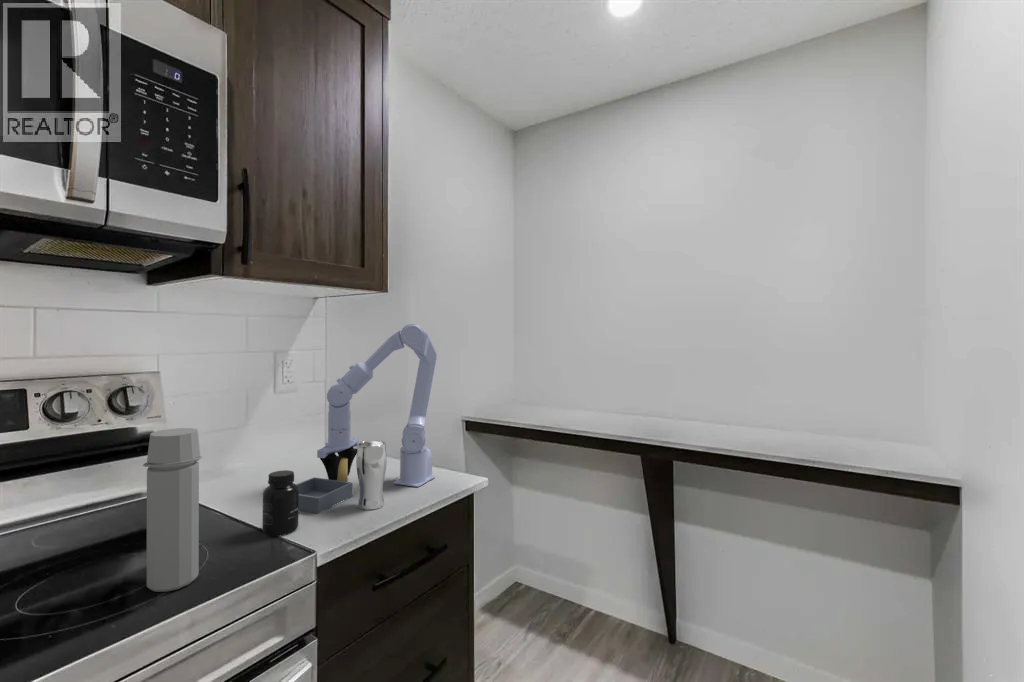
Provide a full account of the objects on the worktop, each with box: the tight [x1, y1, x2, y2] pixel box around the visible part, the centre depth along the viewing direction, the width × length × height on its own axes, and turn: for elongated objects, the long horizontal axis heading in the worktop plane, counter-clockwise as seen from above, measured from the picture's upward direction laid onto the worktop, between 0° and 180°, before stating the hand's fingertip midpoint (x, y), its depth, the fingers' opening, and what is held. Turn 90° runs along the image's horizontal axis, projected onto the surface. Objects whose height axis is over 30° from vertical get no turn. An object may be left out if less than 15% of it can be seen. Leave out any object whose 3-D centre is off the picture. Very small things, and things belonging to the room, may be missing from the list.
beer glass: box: [355, 439, 387, 511], centre depth 114 cm, size 7×7×15 cm
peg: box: [337, 457, 349, 482], centre depth 129 cm, size 4×4×7 cm
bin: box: [295, 477, 353, 514], centre depth 116 cm, size 12×12×4 cm
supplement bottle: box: [261, 469, 300, 537], centre depth 99 cm, size 7×7×12 cm
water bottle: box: [142, 427, 203, 593], centre depth 79 cm, size 9×8×25 cm
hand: (338, 478), depth 129 cm, fingers closed on peg, 4 cm apart
